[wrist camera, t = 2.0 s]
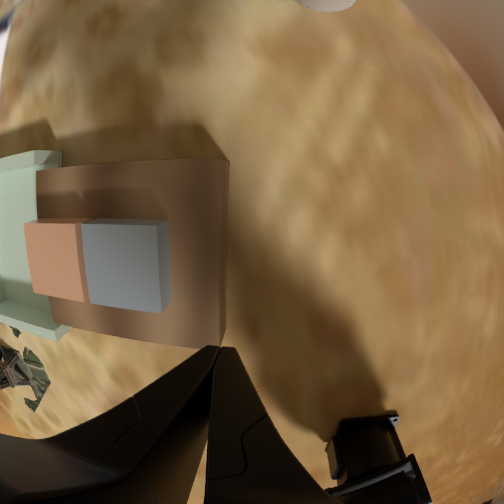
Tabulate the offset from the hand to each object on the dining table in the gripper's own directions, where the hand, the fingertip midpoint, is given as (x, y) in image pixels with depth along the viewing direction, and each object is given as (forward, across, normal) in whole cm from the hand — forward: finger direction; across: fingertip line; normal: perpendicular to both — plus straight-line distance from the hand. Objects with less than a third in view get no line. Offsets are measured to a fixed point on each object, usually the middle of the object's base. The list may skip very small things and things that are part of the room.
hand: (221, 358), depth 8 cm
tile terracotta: (+9, +12, 0) cm, 15 cm away
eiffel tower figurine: (+13, +29, +17) cm, 36 cm away
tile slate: (+9, +7, 0) cm, 11 cm away
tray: (+12, +21, 0) cm, 24 cm away
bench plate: (+12, +8, 0) cm, 15 cm away
